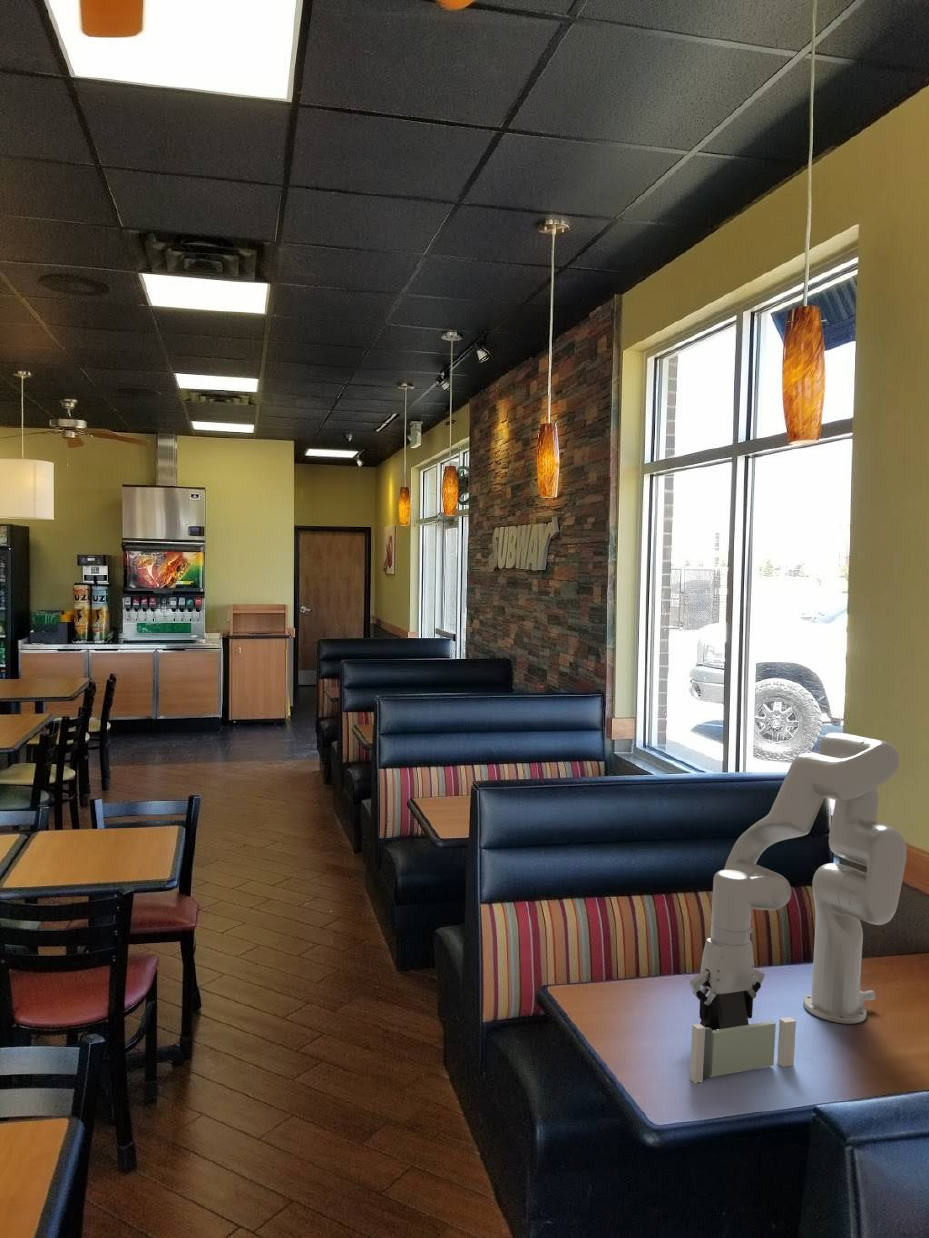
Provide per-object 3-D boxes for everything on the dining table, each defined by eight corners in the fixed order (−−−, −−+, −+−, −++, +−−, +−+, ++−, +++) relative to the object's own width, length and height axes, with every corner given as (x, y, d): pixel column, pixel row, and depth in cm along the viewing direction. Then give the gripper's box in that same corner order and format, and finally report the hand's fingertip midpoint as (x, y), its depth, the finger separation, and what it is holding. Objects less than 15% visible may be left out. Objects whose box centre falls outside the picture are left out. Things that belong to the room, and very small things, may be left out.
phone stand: (752, 1045, 176) (755, 985, 175) (727, 1050, 173) (730, 989, 173) (722, 1024, 184) (725, 967, 184) (698, 1029, 182) (701, 971, 181)
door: (704, 1080, 162) (707, 1031, 161) (699, 1075, 163) (702, 1027, 163) (774, 1067, 167) (776, 1019, 167) (769, 1063, 169) (771, 1016, 168)
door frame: (787, 1060, 170) (790, 1009, 170) (793, 1065, 169) (796, 1012, 169) (689, 1078, 162) (692, 1024, 162) (695, 1083, 161) (697, 1028, 161)
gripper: (753, 923, 185) (748, 1004, 185) (682, 931, 178) (678, 1015, 179) (777, 936, 178) (773, 1021, 178) (705, 945, 171) (701, 1033, 172)
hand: (725, 1018), depth 179 cm, fingers open, 9 cm apart
